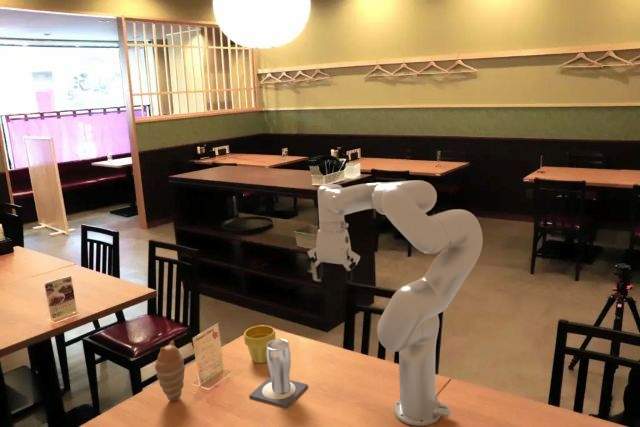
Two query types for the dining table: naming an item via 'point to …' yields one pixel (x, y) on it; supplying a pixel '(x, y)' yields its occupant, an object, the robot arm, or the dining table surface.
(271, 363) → the beer glass
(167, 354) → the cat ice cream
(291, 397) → the mat
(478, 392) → the dining table surface
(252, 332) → the plant pot
